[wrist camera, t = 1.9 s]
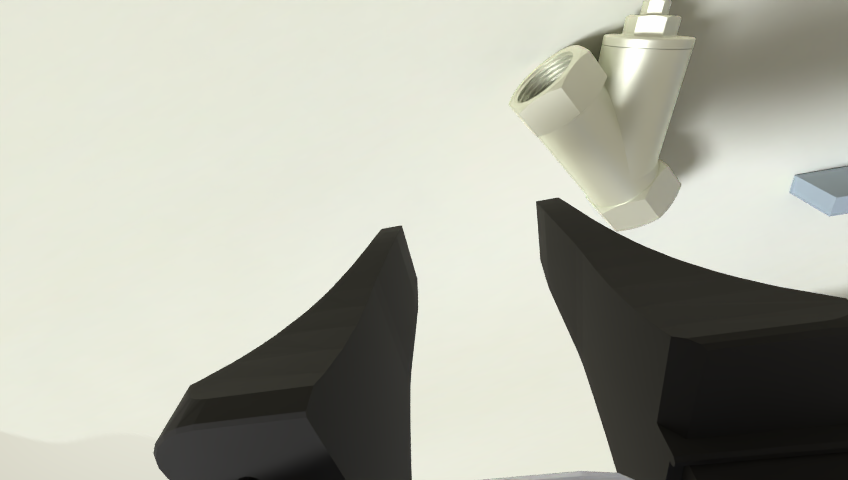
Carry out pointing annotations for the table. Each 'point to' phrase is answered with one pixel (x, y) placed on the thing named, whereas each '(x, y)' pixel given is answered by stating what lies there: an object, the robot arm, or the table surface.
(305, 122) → the table surface
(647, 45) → the pipe fitting
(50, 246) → the table surface
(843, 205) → the shaft seat
